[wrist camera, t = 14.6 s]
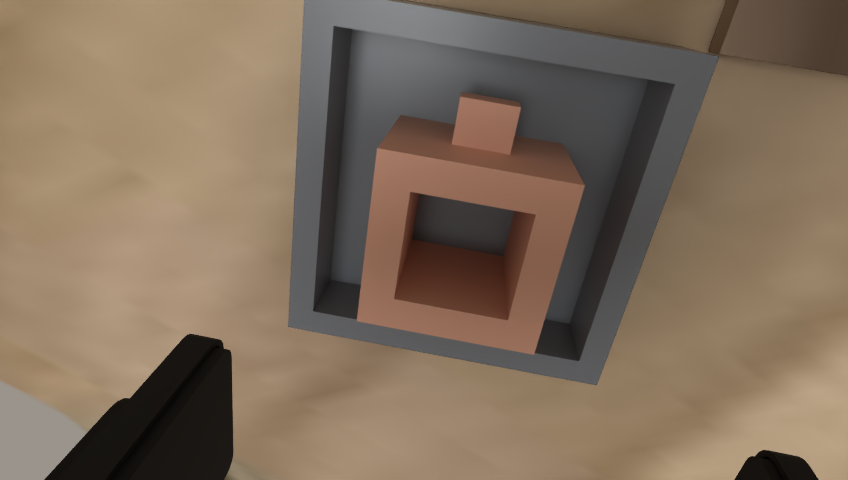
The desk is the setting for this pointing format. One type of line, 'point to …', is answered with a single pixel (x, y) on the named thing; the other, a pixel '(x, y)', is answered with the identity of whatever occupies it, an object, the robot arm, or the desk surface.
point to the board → (786, 33)
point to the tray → (539, 119)
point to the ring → (460, 268)
